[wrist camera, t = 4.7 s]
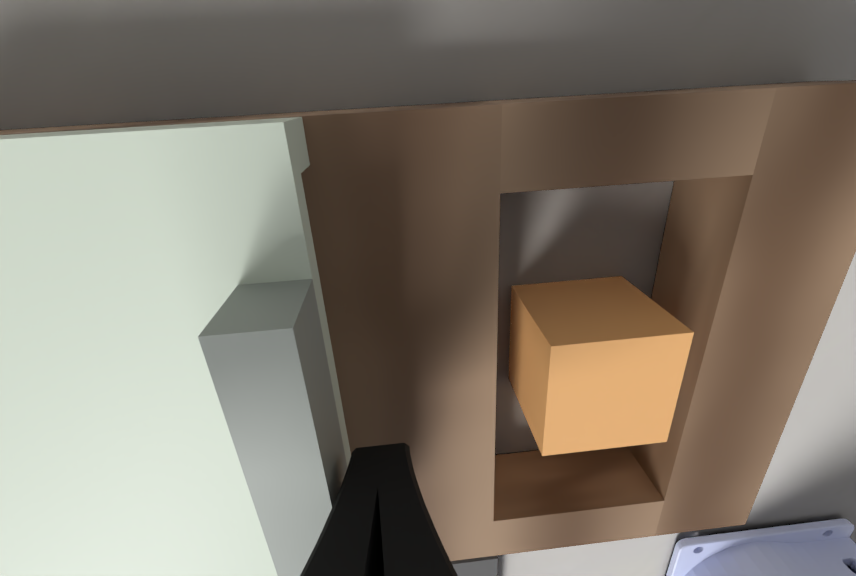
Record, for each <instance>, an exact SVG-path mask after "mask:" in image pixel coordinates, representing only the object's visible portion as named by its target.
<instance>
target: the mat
mask: <svg viewBox="0 0 856 576" xmlns="http://www.w3.org/2000/svg"><path fill="white" fill-rule="evenodd" d="M451 563H452V565H453V567H454V569H455V571H456V573H457V575H458V576H497V569H498V557H497V555H496V556H488V557H480V558H472V559H464V560H456V561H451Z"/></svg>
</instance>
